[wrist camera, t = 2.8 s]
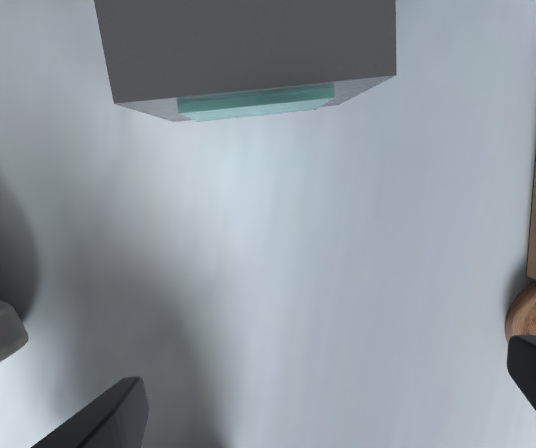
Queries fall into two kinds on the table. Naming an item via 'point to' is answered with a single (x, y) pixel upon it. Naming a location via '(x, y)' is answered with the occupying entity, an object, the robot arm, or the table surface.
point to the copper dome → (522, 313)
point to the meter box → (244, 54)
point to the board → (532, 237)
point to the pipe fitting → (10, 331)
